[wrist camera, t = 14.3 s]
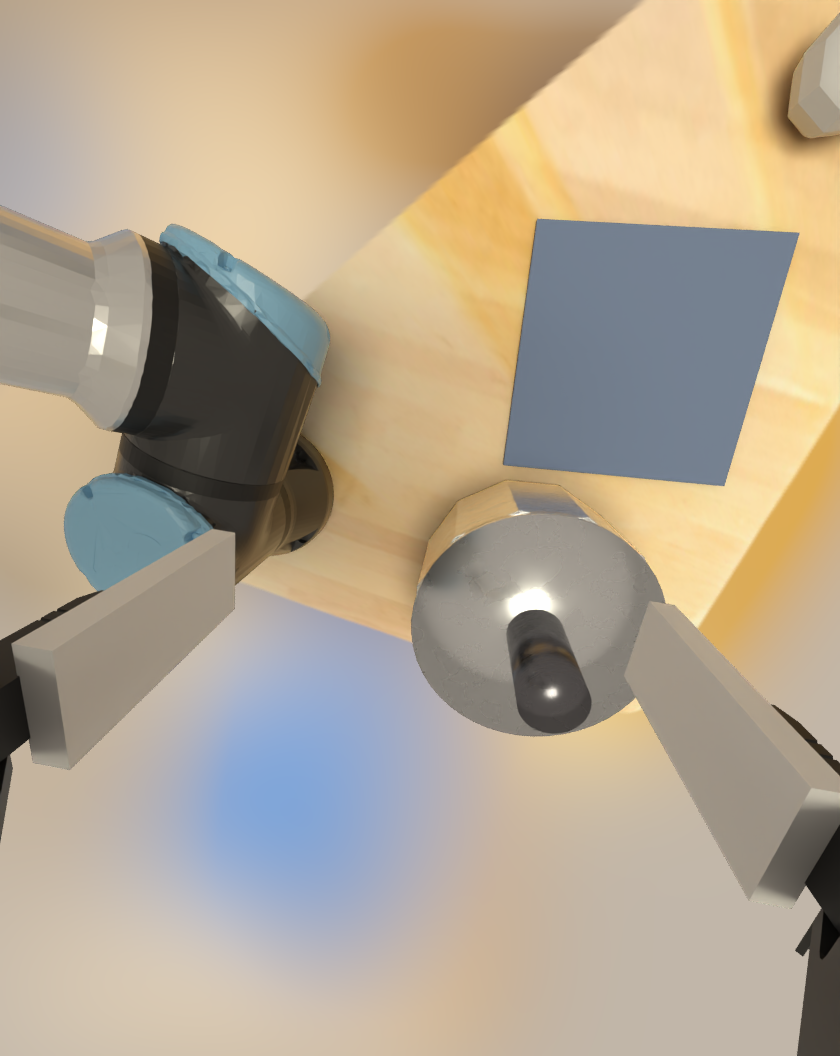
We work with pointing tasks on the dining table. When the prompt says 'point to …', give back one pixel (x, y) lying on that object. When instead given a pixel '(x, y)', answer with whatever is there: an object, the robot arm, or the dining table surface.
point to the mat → (642, 347)
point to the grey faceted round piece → (818, 86)
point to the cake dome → (530, 610)
